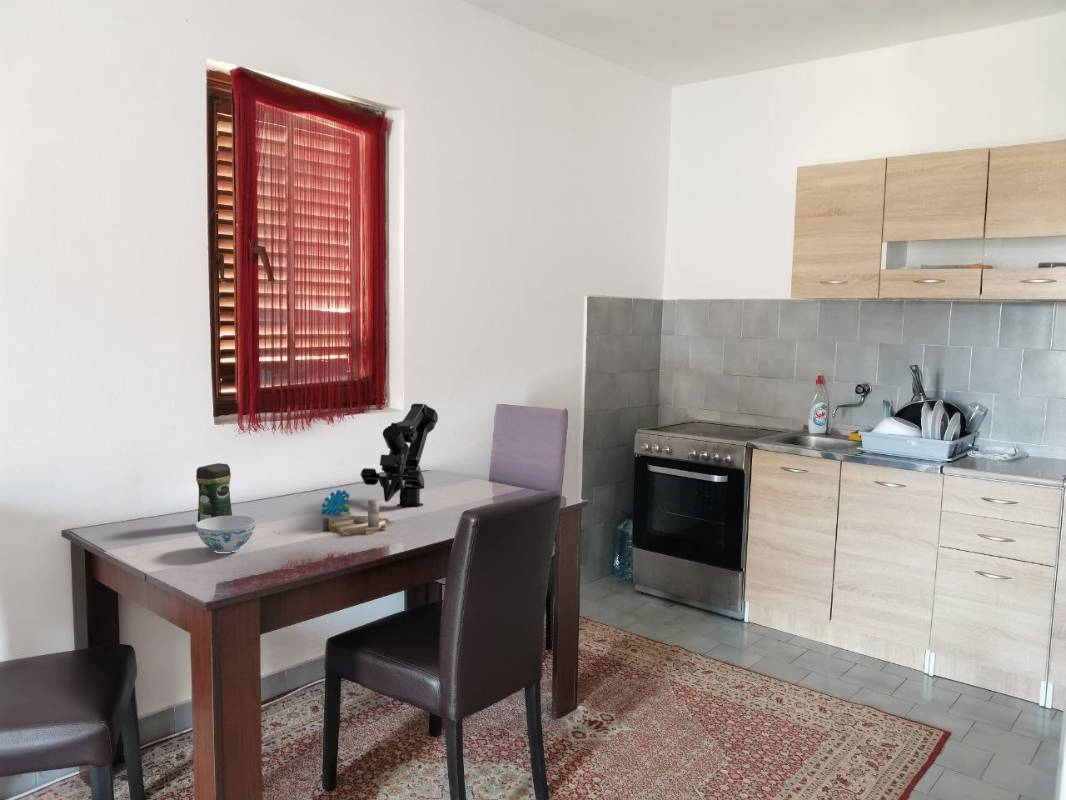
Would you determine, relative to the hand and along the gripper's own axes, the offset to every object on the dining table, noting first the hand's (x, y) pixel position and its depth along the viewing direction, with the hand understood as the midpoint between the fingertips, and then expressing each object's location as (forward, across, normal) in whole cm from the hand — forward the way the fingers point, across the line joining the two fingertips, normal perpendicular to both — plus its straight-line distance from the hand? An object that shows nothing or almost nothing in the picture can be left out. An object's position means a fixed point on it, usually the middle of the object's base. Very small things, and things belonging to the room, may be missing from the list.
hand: (386, 501), depth 247 cm
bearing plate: (+10, -6, -1) cm, 12 cm away
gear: (0, -19, +11) cm, 22 cm away
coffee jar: (+14, -49, -4) cm, 51 cm away
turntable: (+10, -6, -1) cm, 12 cm away
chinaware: (+30, -32, -20) cm, 49 cm away
